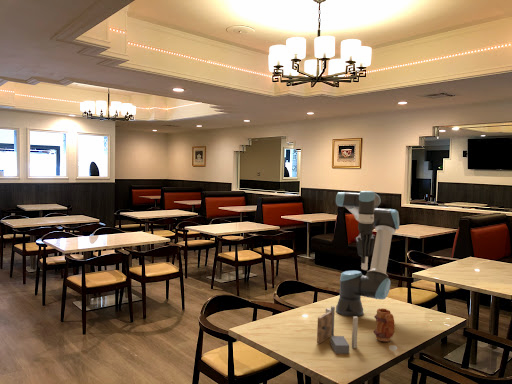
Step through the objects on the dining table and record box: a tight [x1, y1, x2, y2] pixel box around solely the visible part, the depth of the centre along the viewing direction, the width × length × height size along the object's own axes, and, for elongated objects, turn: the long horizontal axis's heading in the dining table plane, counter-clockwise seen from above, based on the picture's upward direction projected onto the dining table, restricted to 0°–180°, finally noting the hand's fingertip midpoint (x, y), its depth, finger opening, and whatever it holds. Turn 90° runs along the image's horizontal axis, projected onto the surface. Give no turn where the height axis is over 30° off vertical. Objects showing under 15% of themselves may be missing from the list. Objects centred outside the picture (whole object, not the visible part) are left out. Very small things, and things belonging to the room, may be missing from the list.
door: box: [316, 311, 332, 345], centre depth 195 cm, size 12×3×12 cm, turn 142°
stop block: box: [329, 335, 350, 355], centre depth 187 cm, size 10×6×4 cm, turn 3°
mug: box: [372, 308, 396, 343], centre depth 195 cm, size 15×8×15 cm, turn 5°
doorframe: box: [325, 306, 359, 349], centre depth 196 cm, size 20×2×14 cm, turn 31°
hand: (364, 269), depth 206 cm, fingers closed
